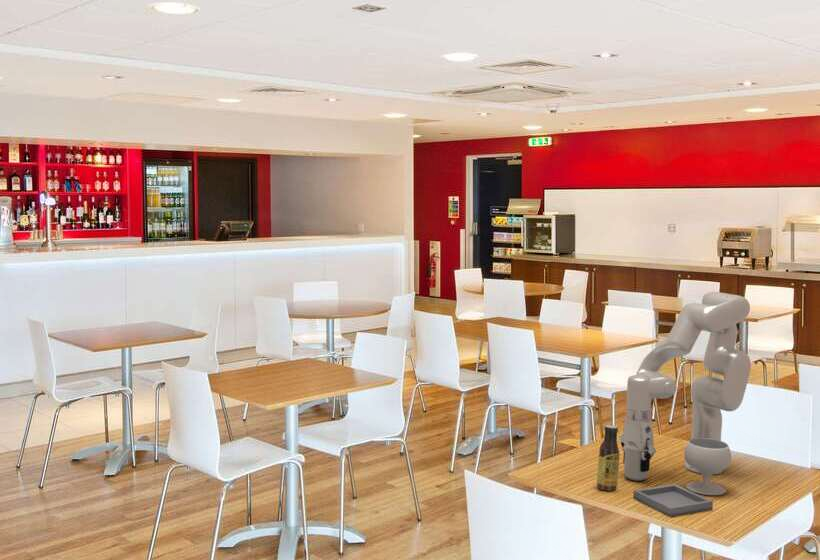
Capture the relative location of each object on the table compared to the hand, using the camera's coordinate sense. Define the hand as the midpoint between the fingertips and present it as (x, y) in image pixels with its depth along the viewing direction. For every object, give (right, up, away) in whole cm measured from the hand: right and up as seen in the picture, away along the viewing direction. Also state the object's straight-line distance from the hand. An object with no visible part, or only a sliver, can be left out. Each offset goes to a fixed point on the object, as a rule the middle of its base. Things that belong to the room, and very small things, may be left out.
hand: (636, 467), depth 278 cm
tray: (+5, -6, -21) cm, 23 cm away
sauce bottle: (-12, -5, -9) cm, 16 cm away
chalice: (+20, -6, -8) cm, 22 cm away
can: (0, -4, 0) cm, 4 cm away
